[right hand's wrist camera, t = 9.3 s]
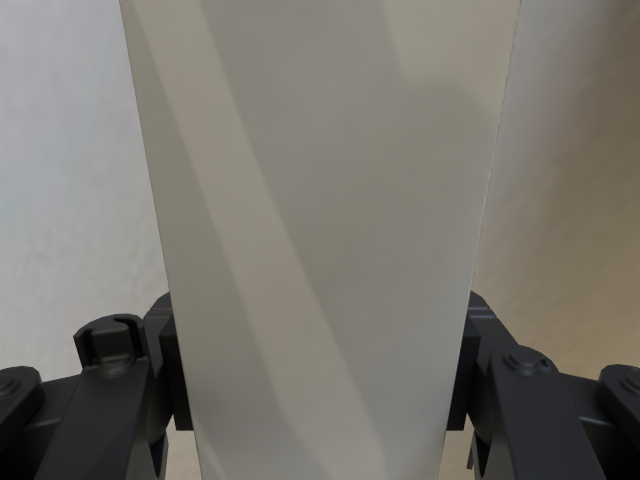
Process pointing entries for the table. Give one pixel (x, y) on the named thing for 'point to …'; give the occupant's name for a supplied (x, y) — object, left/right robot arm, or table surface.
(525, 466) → the right robot arm
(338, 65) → the bar
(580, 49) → the table surface
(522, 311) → the table surface
